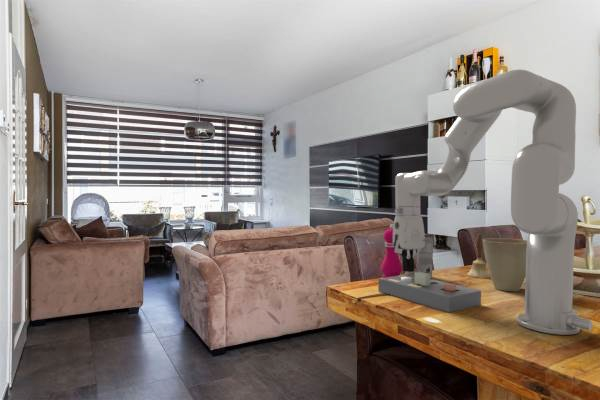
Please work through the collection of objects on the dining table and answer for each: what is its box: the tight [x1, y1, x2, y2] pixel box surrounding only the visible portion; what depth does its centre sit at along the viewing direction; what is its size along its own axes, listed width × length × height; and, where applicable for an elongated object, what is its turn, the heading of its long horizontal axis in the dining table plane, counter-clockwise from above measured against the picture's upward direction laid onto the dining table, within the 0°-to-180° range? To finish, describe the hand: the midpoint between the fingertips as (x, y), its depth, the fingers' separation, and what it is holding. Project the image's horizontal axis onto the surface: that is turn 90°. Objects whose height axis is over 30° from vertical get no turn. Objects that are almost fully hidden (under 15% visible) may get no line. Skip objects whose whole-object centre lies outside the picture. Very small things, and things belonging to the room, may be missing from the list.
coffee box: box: [404, 232, 434, 279], centre depth 150 cm, size 9×6×16 cm
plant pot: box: [483, 237, 528, 292], centre depth 131 cm, size 15×15×16 cm
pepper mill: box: [380, 223, 403, 278], centre depth 142 cm, size 7×7×20 cm
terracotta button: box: [444, 282, 457, 292], centre depth 112 cm, size 3×3×2 cm
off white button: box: [401, 277, 412, 281], centre depth 126 cm, size 3×3×2 cm
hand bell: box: [466, 233, 491, 279], centre depth 152 cm, size 8×8×16 cm
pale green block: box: [415, 272, 430, 286], centre depth 118 cm, size 4×2×6 cm, turn 33°
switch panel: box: [377, 274, 482, 313], centre depth 119 cm, size 26×14×4 cm, turn 33°
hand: (408, 271), depth 125 cm, fingers closed
